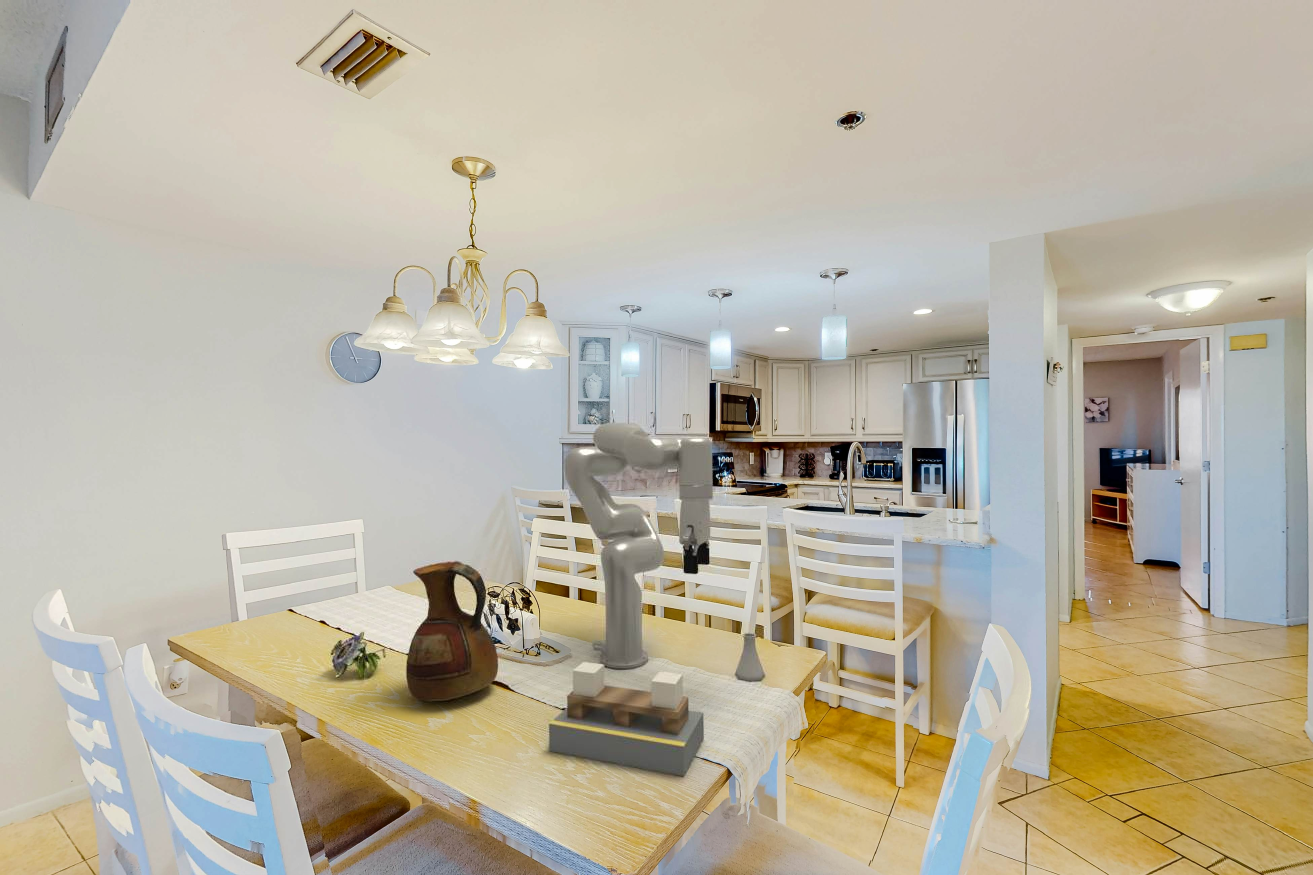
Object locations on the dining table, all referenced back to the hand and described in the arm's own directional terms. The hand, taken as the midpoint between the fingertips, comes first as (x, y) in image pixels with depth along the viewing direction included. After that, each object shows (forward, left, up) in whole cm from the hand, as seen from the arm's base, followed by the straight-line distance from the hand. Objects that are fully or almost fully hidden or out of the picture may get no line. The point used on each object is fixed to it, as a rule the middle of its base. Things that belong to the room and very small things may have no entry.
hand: (696, 568), depth 130 cm
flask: (+9, +14, -28) cm, 33 cm away
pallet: (-7, -25, -23) cm, 35 cm away
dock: (-7, -25, -28) cm, 38 cm away
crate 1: (-15, -25, -19) cm, 35 cm away
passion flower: (-85, -14, -29) cm, 91 cm away
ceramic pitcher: (-54, -16, -28) cm, 63 cm away
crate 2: (+1, -25, -19) cm, 31 cm away
